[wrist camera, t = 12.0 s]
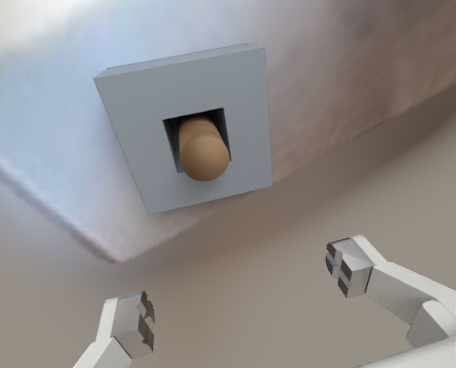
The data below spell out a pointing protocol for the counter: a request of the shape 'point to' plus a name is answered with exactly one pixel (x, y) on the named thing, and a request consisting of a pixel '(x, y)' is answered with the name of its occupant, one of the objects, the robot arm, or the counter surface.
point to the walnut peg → (201, 147)
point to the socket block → (188, 104)
